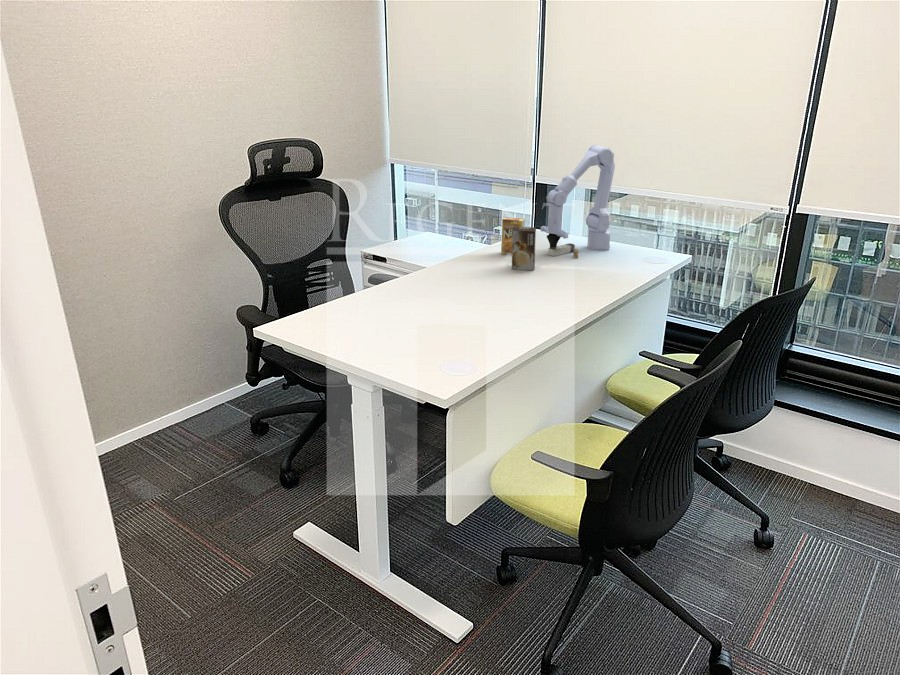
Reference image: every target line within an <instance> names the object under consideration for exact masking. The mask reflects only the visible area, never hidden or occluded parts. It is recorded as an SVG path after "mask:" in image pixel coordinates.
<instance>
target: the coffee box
mask: <svg viewBox="0 0 900 675" xmlns="http://www.w3.org/2000/svg"><path fill="white" fill-rule="evenodd" d="M536 233H537V227H534V226H533V227H532V226H531V227H529V226H524V227H514V228H513V236H512V253H511V270H515V271H516V270H517V271H535V268H536V242H537V241H536V239H537V238H536V236H537V234H536Z"/></svg>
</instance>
